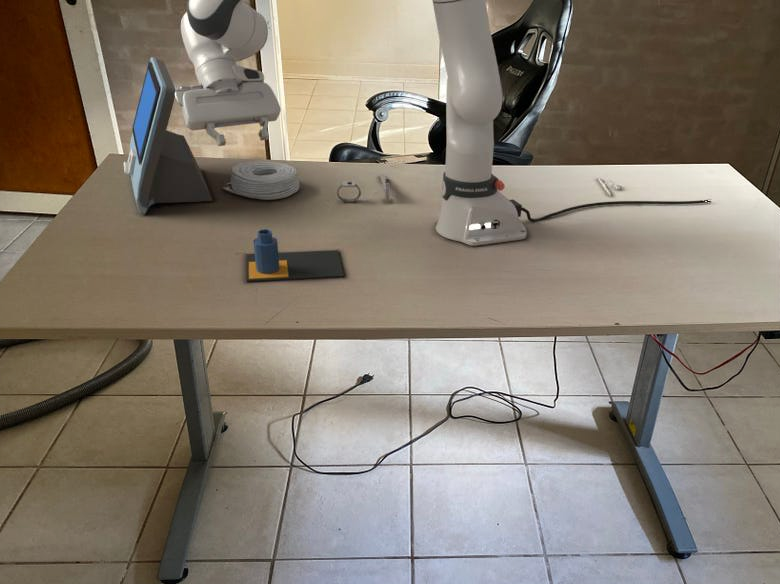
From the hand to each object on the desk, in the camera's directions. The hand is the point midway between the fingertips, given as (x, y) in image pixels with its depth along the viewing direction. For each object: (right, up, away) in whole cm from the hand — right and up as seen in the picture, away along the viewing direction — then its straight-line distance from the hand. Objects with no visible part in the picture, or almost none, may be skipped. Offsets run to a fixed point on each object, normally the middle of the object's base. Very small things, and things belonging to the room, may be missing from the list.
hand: (244, 141), depth 155 cm
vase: (+5, -27, +1) cm, 27 cm away
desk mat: (+10, -26, +4) cm, 28 cm away
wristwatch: (+16, -4, +39) cm, 42 cm away
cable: (-7, -1, +42) cm, 42 cm away
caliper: (+25, +1, +48) cm, 54 cm away
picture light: (+90, +4, +61) cm, 108 cm away
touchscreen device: (-32, -1, +38) cm, 50 cm away
